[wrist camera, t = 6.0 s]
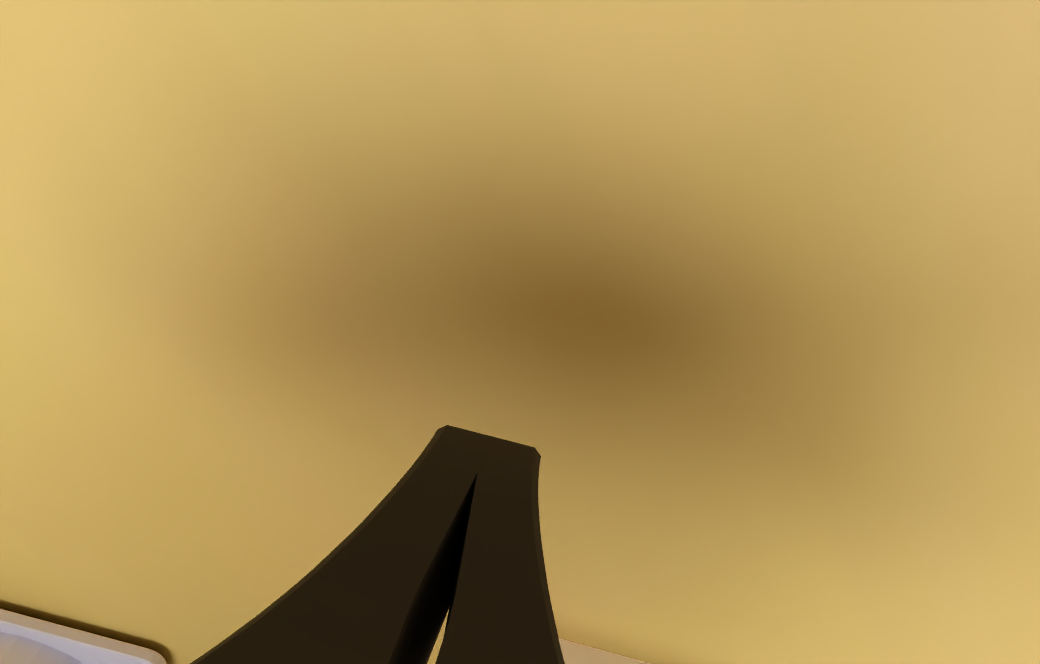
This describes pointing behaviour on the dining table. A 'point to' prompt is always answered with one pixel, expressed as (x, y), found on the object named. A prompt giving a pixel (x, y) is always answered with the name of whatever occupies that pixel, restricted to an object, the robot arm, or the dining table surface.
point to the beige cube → (591, 655)
